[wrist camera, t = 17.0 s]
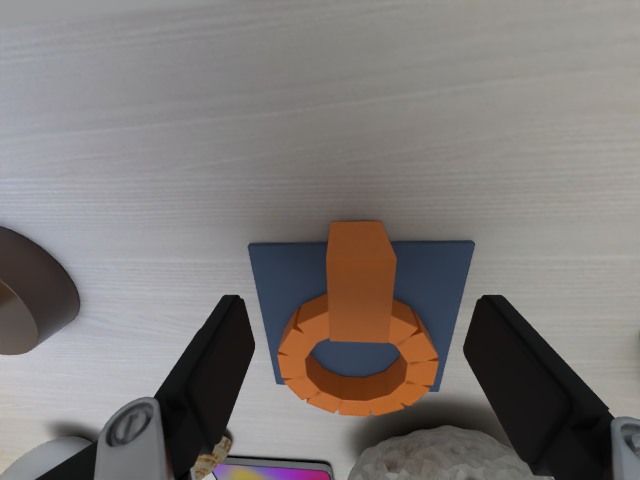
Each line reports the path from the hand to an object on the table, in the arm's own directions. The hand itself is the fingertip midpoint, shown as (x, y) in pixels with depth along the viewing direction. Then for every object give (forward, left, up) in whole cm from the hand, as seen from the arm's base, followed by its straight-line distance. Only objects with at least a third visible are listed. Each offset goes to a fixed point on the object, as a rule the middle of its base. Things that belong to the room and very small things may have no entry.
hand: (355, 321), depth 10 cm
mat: (+6, 0, -6) cm, 9 cm away
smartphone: (+31, -10, -6) cm, 33 cm away
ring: (+6, 0, -6) cm, 8 cm away
